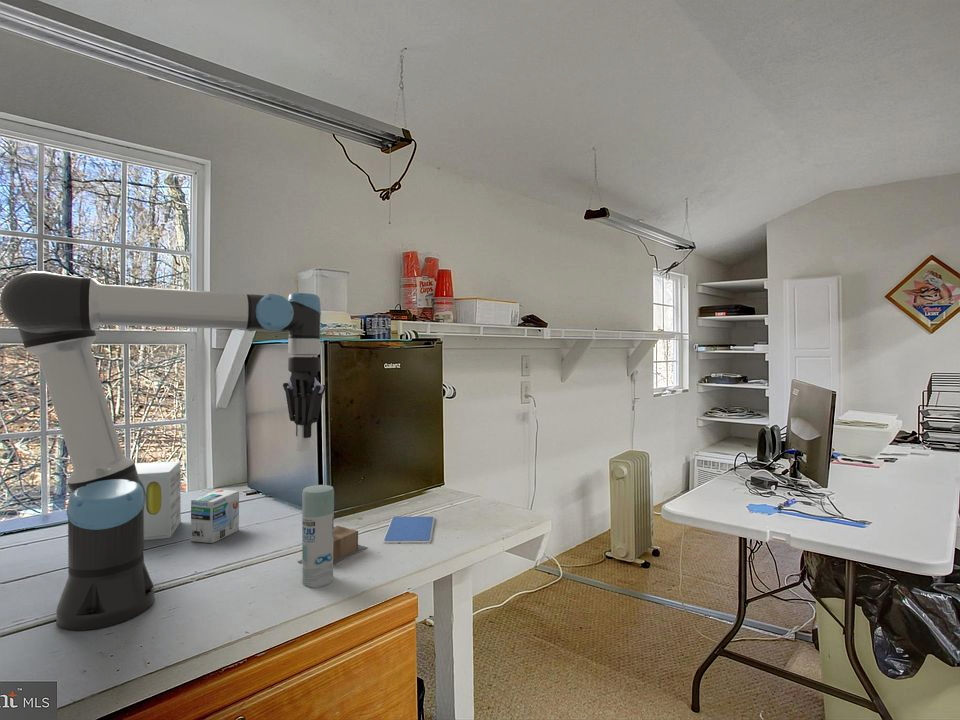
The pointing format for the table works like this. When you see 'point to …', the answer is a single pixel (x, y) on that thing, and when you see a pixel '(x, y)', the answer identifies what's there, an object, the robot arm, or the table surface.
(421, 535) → the tablet computer
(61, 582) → the table surface
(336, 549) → the walnut block
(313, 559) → the spray paint can
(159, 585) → the table surface
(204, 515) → the light bulb box
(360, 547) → the mat
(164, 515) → the supplement box
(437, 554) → the table surface
